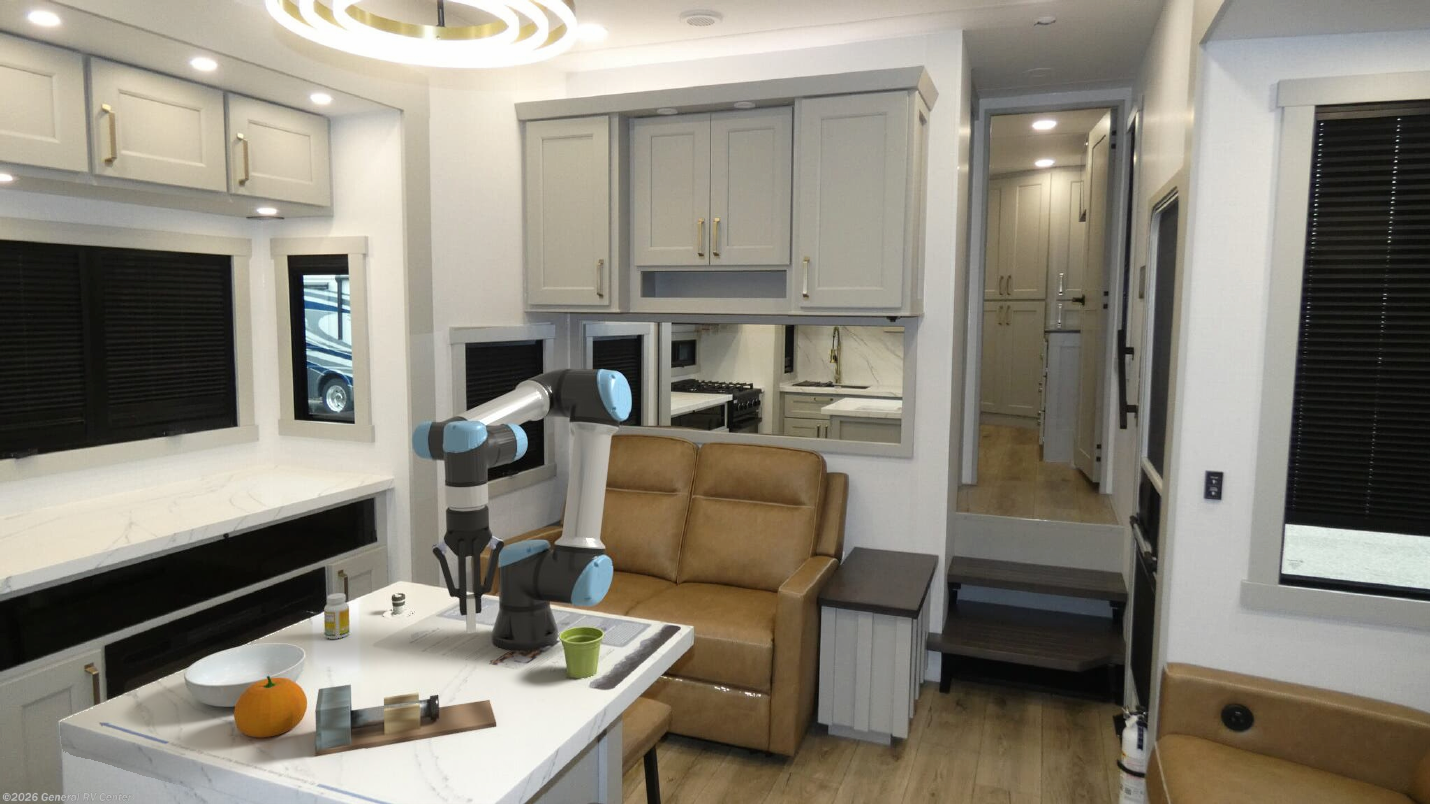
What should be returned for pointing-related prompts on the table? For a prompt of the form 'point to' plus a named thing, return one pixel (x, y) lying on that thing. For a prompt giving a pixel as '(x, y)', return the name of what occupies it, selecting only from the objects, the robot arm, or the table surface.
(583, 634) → the plant pot
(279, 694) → the fruit
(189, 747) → the table surface
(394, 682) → the table surface
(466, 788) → the table surface
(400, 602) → the coffee cup
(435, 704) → the tube
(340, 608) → the supplement bottle
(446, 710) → the base
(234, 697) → the serving bowl
